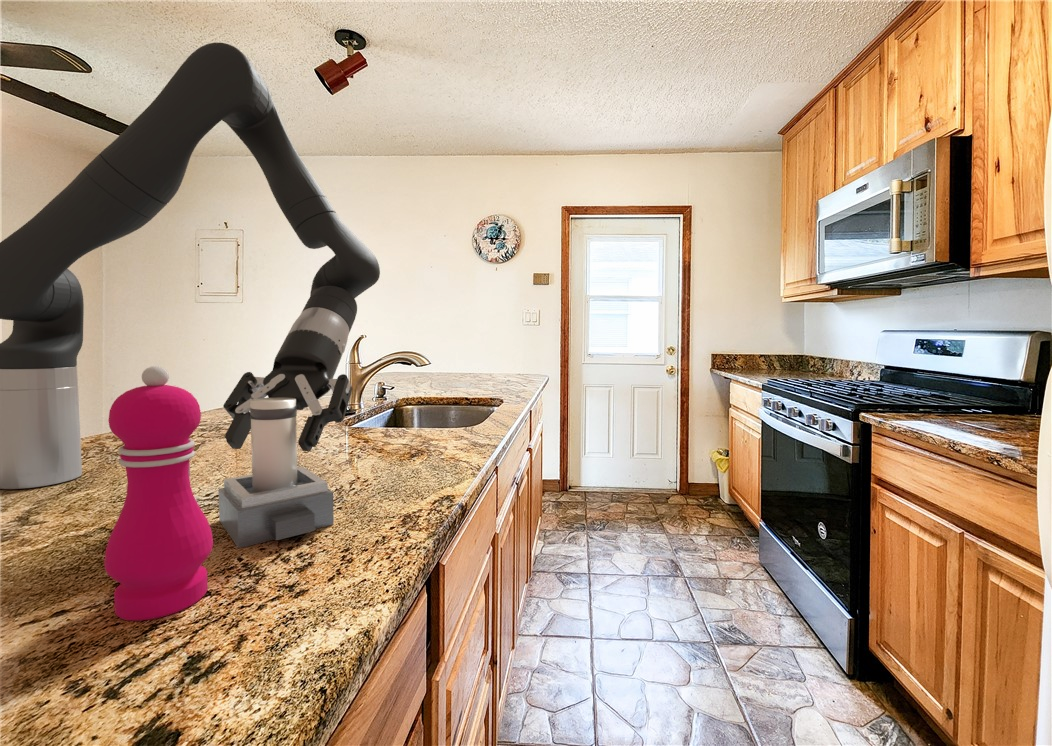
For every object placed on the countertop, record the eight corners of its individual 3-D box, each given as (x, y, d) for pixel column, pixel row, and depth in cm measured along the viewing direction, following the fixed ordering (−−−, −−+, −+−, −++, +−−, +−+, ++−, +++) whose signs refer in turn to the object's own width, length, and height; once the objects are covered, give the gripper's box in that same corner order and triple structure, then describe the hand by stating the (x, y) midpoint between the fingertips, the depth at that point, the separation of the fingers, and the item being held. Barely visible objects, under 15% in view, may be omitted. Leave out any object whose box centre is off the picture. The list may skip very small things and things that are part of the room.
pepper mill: (233, 587, 42) (228, 365, 41) (146, 634, 35) (135, 370, 34) (177, 572, 45) (170, 362, 43) (85, 614, 38) (73, 366, 36)
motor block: (219, 520, 57) (218, 478, 57) (305, 502, 64) (305, 465, 64) (244, 556, 48) (242, 506, 48) (341, 530, 55) (340, 487, 55)
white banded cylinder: (247, 489, 57) (245, 399, 56) (290, 481, 60) (289, 396, 59) (258, 499, 53) (255, 403, 52) (303, 490, 57) (302, 400, 56)
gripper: (252, 326, 63) (191, 427, 52) (357, 328, 62) (316, 430, 52) (275, 364, 69) (224, 461, 58) (371, 366, 68) (338, 464, 57)
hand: (268, 446), depth 55 cm, fingers open, 8 cm apart
